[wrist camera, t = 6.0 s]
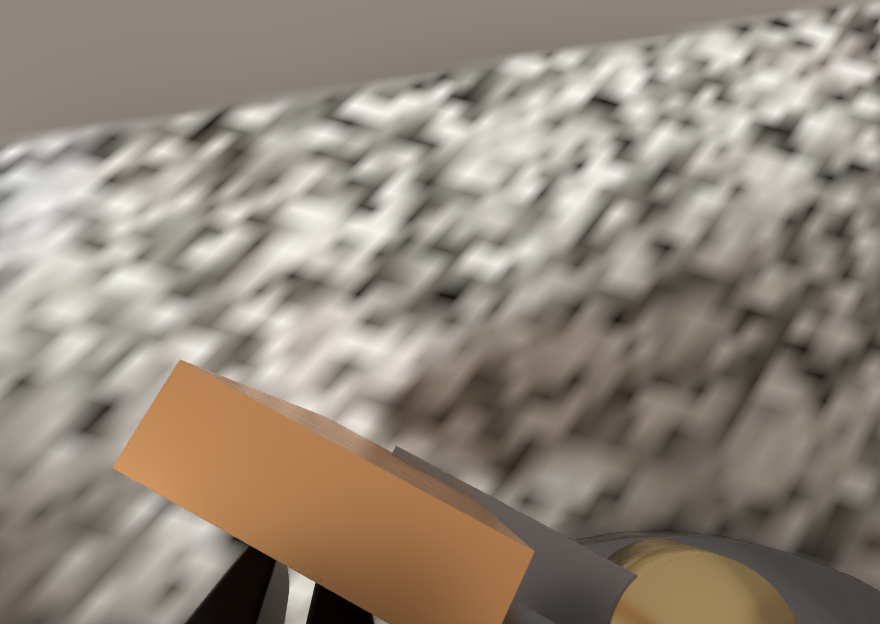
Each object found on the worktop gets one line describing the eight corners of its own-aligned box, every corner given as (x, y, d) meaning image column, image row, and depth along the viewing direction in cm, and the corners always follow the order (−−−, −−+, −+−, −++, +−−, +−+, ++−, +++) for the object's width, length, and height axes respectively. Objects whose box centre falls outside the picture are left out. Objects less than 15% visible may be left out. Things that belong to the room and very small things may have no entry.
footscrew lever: (772, 588, 15) (1343, 807, 6) (710, 756, 14) (1259, 1336, 5) (353, 367, 16) (252, 243, 7) (273, 513, 15) (26, 606, 6)
